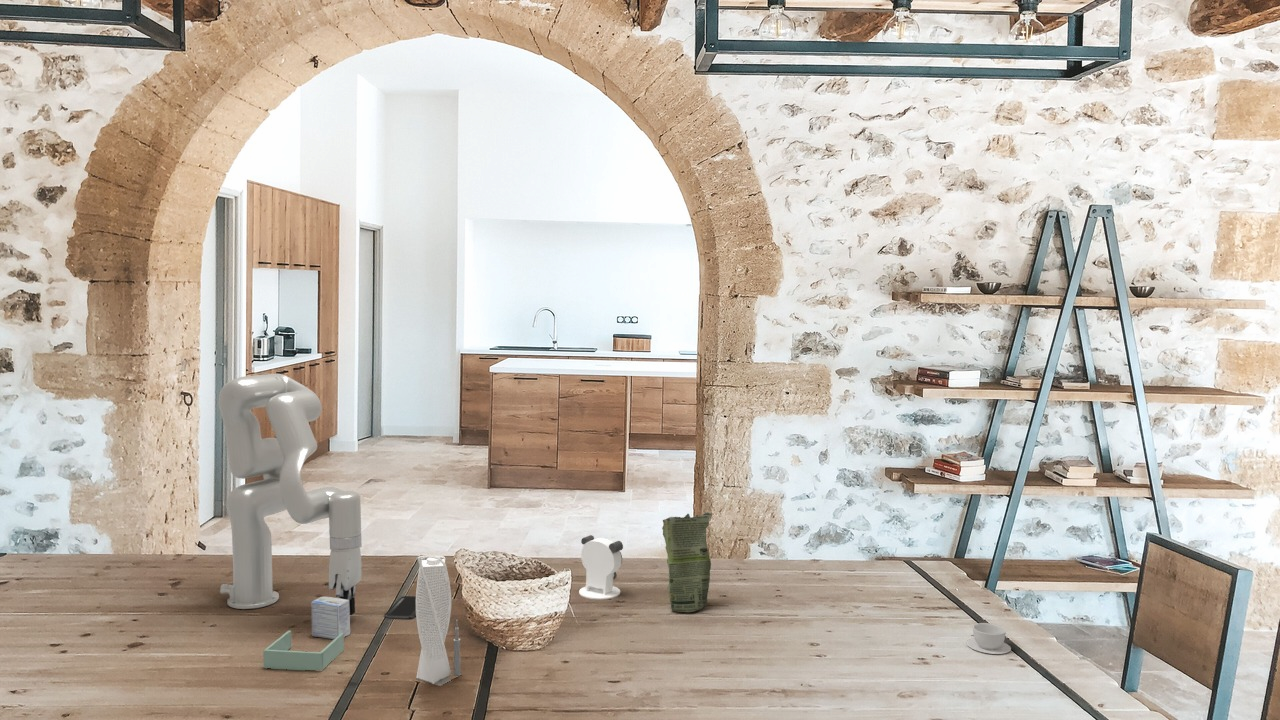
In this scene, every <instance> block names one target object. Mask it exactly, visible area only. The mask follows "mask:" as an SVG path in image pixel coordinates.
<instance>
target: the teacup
mask: <svg viewBox="0 0 1280 720" xmlns="http://www.w3.org/2000/svg"><path fill="white" fill-rule="evenodd" d="M972 633H973V638H970V639H968V640H967V641H966V645H967V646H968V647H969V648H970V649H972V650H975V651H977V652H980V653H985V654H990V655H1002V654H1007V653H1009V652H1011V650H1012V647H1011V645H1009V644H1007V643H1006V642H1005V639H1006V634H1007V630H1006V628H1004V627H1003V626H1001V625H998V624H995V623H994V624H993V623H989V622H981V623H979V622H978V623H974V624H973V625H972Z"/></svg>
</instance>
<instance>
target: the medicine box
mask: <svg viewBox="0 0 1280 720" xmlns="http://www.w3.org/2000/svg"><path fill="white" fill-rule="evenodd" d="M341 633H344V638H346V637H348V636H349V635H350V634H351V615H350V607H349V600H346V599H340V598H339V597H330V596H320V597H318V598H316V599H314V600H313V601H311V636H312V637H318V638H324V639H329V640H331V639H332V640H334V639H335V638H336V637H337V636H338V635H340V634H341ZM345 636H346V637H345Z"/></svg>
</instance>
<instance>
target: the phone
mask: <svg viewBox="0 0 1280 720" xmlns="http://www.w3.org/2000/svg"><path fill="white" fill-rule="evenodd" d="M386 618H390V620H410V621H411V620H414V619H416V595H412V596H411V595H404V596H401V597H400V598H399V599H398V600H397V601H396V602H395V603H394V604H393V605H392V606H391V607H390V608H389V609H388V610H387V611H386V612H385V613H384V619H386Z"/></svg>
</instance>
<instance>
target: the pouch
mask: <svg viewBox="0 0 1280 720" xmlns="http://www.w3.org/2000/svg"><path fill="white" fill-rule="evenodd" d="M710 517H712V513H709V511H707V512H705V513H702V514H701V515H695V516H692V517H691V516H690V513H687V514H686V515H684V516H683V517H681V516H669V517H667V518H664V519H662V523H663V526H662V527H661V529H662V536H663V538H664V543H665V551H666V554H667V559H666V563H667V568H668V584H667V590H668V591H667V592H668V597H669V603H670V609H671V611H673V612H679V613H682V612H683V613H693V612H696V611H700V610H702V609H703V608H704V607H705V606H708V595H709V587H710V580H711V577H710V576H711V568H712V567H711V566H712V563H711V558H710V554H709V548H708V544H707V529H708V527H709V526H710Z"/></svg>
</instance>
